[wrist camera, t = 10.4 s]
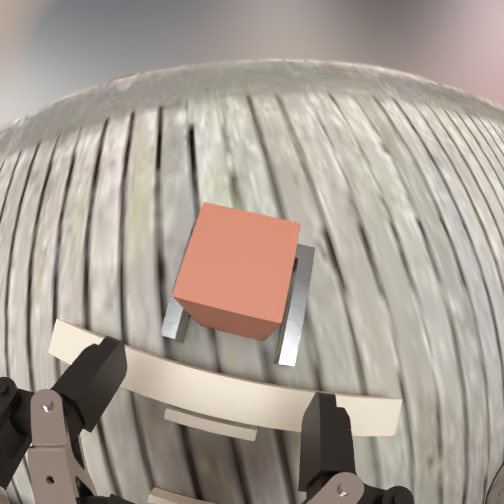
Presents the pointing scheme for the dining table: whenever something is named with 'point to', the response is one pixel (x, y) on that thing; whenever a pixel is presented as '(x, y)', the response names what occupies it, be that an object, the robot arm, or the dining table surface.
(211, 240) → the block
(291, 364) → the keeper bracket
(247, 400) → the strip
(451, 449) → the dining table surface
